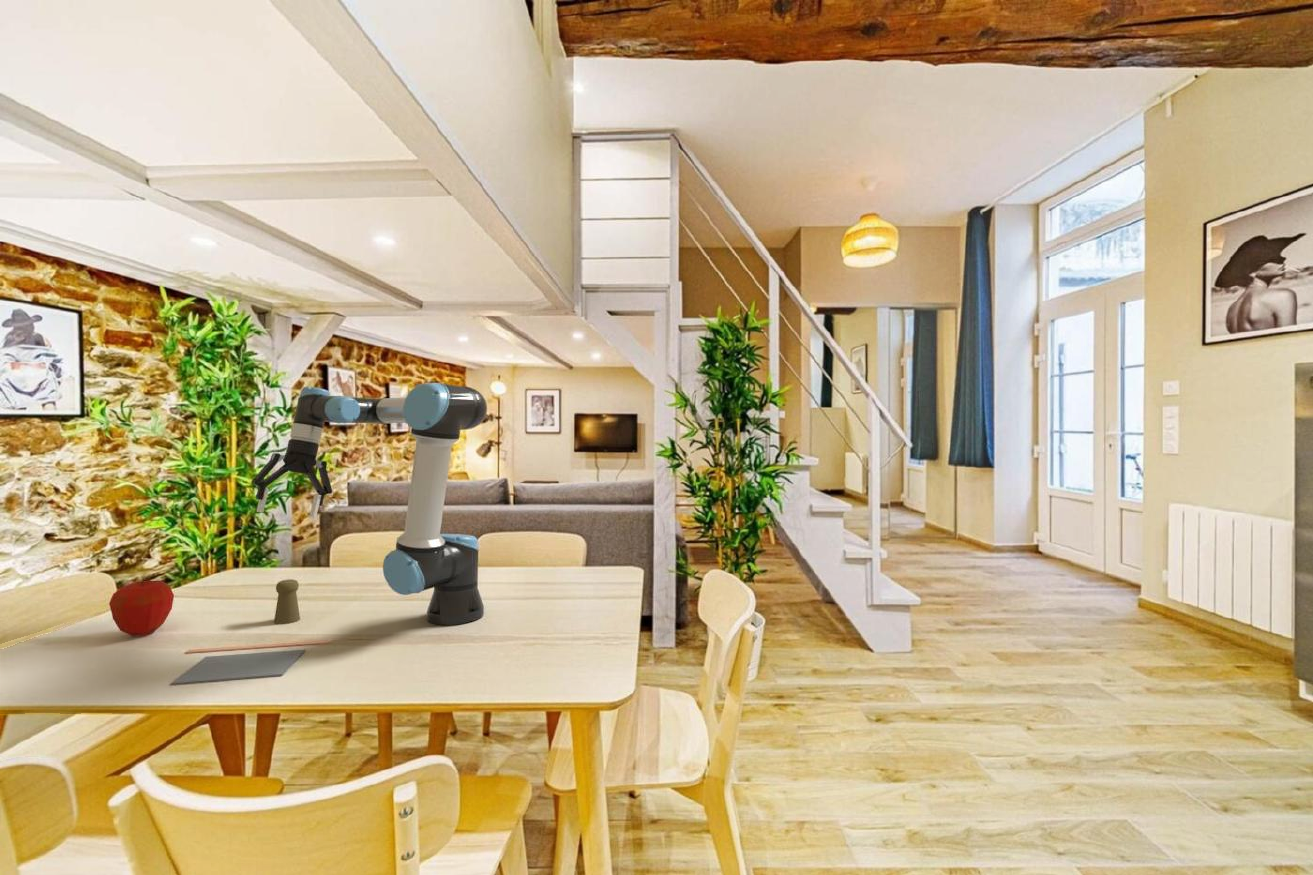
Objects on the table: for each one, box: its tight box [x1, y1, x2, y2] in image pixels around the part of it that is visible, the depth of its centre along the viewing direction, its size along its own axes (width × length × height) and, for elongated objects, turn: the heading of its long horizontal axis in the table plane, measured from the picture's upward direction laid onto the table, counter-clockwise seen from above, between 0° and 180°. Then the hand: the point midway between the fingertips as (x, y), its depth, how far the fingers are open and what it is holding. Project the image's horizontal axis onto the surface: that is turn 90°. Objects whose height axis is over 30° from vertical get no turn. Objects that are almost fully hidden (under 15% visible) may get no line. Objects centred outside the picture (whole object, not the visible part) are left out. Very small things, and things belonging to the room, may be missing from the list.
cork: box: [273, 579, 301, 625], centre depth 156 cm, size 6×6×11 cm
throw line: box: [184, 639, 332, 654], centre depth 137 cm, size 30×2×1 cm, turn 105°
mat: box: [170, 649, 306, 686], centre depth 125 cm, size 20×14×1 cm
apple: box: [108, 578, 175, 637], centre depth 144 cm, size 12×12×14 cm
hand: (287, 514), depth 161 cm, fingers open, 13 cm apart
